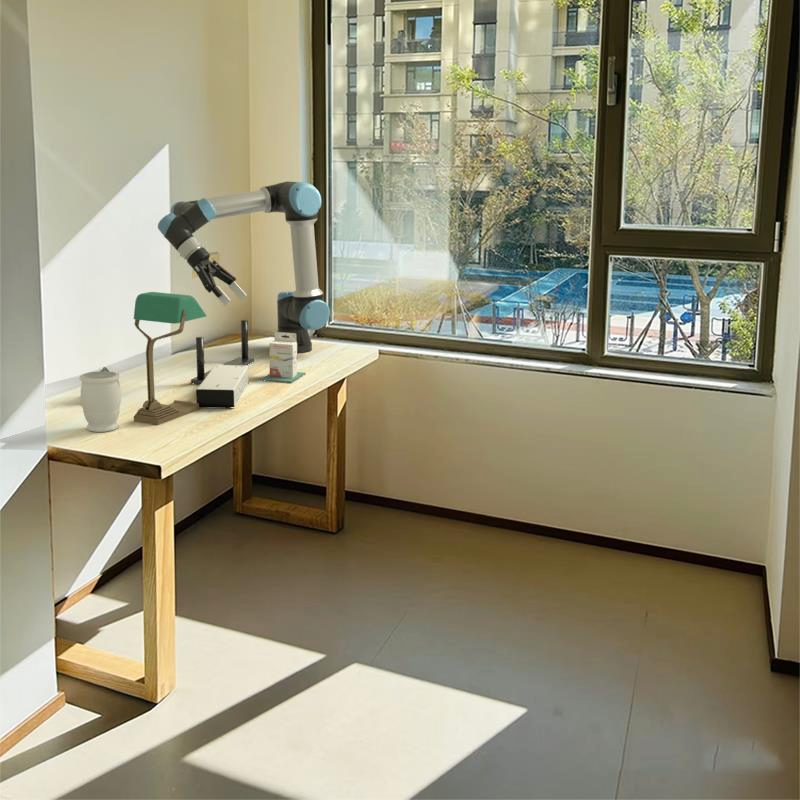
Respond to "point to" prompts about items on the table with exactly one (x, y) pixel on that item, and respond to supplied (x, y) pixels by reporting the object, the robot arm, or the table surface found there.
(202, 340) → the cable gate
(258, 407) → the table surface
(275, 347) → the ink cartridge box
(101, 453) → the table surface
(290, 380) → the green mat
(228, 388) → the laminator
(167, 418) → the banker's lamp
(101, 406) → the jar
